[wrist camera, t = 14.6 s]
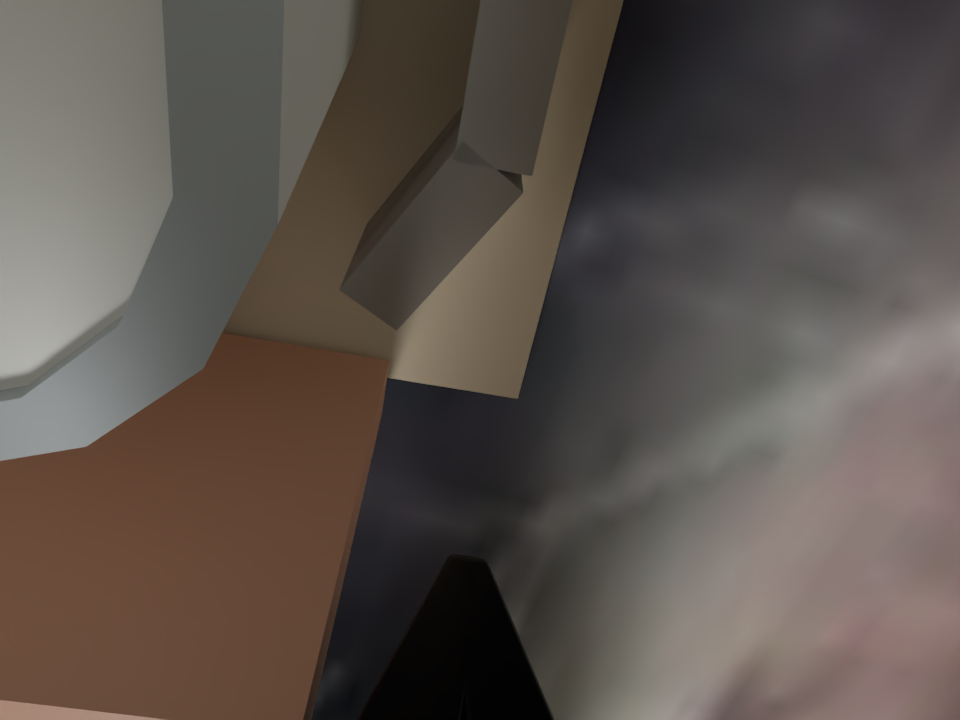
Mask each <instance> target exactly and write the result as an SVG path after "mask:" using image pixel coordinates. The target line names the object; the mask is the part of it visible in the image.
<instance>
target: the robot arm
mask: <svg viewBox="0 0 960 720" xmlns="http://www.w3.org/2000/svg"><path fill="white" fill-rule="evenodd" d="M357 720H554V718H553V715H552V713H551V711H550V708H549V706H548V704H547V701H546V699H545V697H544V694H543V692H542V690H541V687H540V685H539V682H538V680H537V678H536V675H535V673H534V671H533V668H532V666H531V664H530V661H529V659H528V656H527V654H526V652H525V649H524V647H523V645H522V642H521V640H520V638H519V635H518V633H517V630H516V628H515V626H514V623H513V621H512V619H511V616H510V614H509V612H508V609H507V607H506V605H505V602H504V600H503V597H502V595H501V593H500V590H499V588H498V586H497V583H496V581H495V579H494V576H493V574H492V571H491V569H490V567H489V565H488V563H487V562H486V561H485V560H484V559H481V558H474V557H468V556H462V555H456V554H452V555H450V556H449V557H448V558H447V560H446V562H445V564H444V565H443V567H442V569H441V571H440V572H439V574H438V576H437V578H436V580H435V581H434V583H433V585H432V587H431V589H430V590H429V592H428V594H427V596H426V597H425V599H424V601H423V603H422V605H421V606H420V608H419V610H418V612H417V614H416V615H415V617H414V619H413V621H412V622H411V624H410V626H409V628H408V630H407V631H406V633H405V635H404V637H403V638H402V640H401V642H400V644H399V646H398V647H397V649H396V651H395V653H394V655H393V656H392V658H391V660H390V662H389V663H388V665H387V667H386V669H385V671H384V672H383V674H382V676H381V678H380V679H379V681H378V683H377V685H376V687H375V688H374V690H373V692H372V694H371V696H370V697H369V699H368V701H367V703H366V704H365V706H364V708H363V710H362V712H361V713H360V715H359V717H358V719H357Z"/></svg>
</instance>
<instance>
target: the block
mask: <svg viewBox="0 0 960 720" xmlns="http://www.w3.org/2000/svg"><path fill="white" fill-rule="evenodd" d="M388 366H389V360H384V359H378V358H371V357H365V356H359V355H353V354H347V353H341V352H335V351H329V350H323V349H317V348H311V347H305V346H299V345H293V344H287V343H280V342H274V341H268V340H262V339H256V338H250V337H244V336H238V335H232V334H226V333H221V335H220V337H219V339H218V341H217V343H216V345H215V347H214V349H213V351H212V353H211V355H210V357H209V358H208V360H207V362H206V364H205V366H204V368H203V369H202V370H200V371H199V372H197V373H196V374H195V375H193V376H192V377H190V378H189V379H187V380H186V381H184V382H183V383H181V384H180V385H178V386H177V387H175V388H174V389H172V390H171V391H169V392H168V393H166V394H165V395H163V396H162V397H160V398H159V399H157V400H156V401H154V402H153V403H151V404H150V405H148V406H147V407H145V408H144V409H142V410H141V411H139V412H138V413H136V414H135V415H133V416H132V417H130V418H129V419H127V420H126V421H124V422H123V423H121V424H120V425H118V426H117V427H115V428H114V429H112V430H111V431H109V432H108V433H106V434H105V435H103V436H102V437H100V438H99V439H97V440H96V441H94V442H93V443H91V444H90V445H88V446H87V447H81V448H75V449H69V450H63V451H57V452H51V453H45V454H39V455H33V456H27V457H21V458H15V459H9V460H3V461H0V720H312V716H313V711H314V707H315V703H316V698H317V694H318V690H319V685H320V681H321V677H322V672H323V668H324V663H325V659H326V655H327V650H328V646H329V642H330V637H331V633H332V629H333V624H334V620H335V615H336V611H337V607H338V602H339V598H340V594H341V589H342V585H343V581H344V576H345V572H346V567H347V563H348V559H349V554H350V550H351V546H352V541H353V537H354V533H355V528H356V524H357V519H358V515H359V511H360V506H361V502H362V498H363V493H364V489H365V485H366V480H367V476H368V471H369V467H370V463H371V458H372V454H373V450H374V445H375V441H376V437H377V432H378V428H379V423H380V419H381V415H382V410H383V402H384V395H385V388H386V381H387V373H388Z"/></svg>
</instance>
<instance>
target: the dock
mask: <svg viewBox="0 0 960 720" xmlns="http://www.w3.org/2000/svg"><path fill="white" fill-rule="evenodd" d="M623 1H624V0H363V8H362V20H361V32H360V37H359V40H358V42H357V44H356V46H355V49H354V51H353V53H352V56H351V58H350V60H349V62H348V65H347V67H346V69H345V72H344V74H343V76H342V79H341V81H340V83H339V85H338V88H337V90H336V92H335V95H334V97H333V99H332V101H331V104H330V106H329V108H328V111H327V113H326V115H325V118H324V120H323V122H322V124H321V127H320V129H319V131H318V134H317V136H316V138H315V141H314V143H313V145H312V147H311V150H310V152H309V154H308V157H307V159H306V161H305V163H304V166H303V168H302V170H301V173H300V175H299V177H298V180H297V182H296V184H295V186H294V189H293V191H292V193H291V196H290V198H289V200H288V202H287V205H286V207H285V209H284V212H283V214H282V216H281V219H280V221H279V223H278V225H277V227H276V229H275V231H274V233H273V235H272V237H271V239H270V241H269V243H268V245H267V247H266V249H265V250H264V252H263V254H262V256H261V258H260V260H259V262H258V264H257V266H256V268H255V270H254V272H253V274H252V276H251V277H250V279H249V281H248V283H247V285H246V287H245V289H244V291H243V293H242V295H241V297H240V299H239V301H238V303H237V304H236V306H235V308H234V310H233V312H232V314H231V316H230V318H229V320H228V322H227V324H226V326H225V328H224V330H223V331H222V333H226V334H232V335H238V336H244V337H250V338H256V339H262V340H268V341H274V342H280V343H287V344H293V345H299V346H305V347H311V348H317V349H323V350H329V351H335V352H341V353H347V354H353V355H359V356H365V357H371V358H378V359H384V360H389V366H388V373H387V378H393V379H399V380H405V381H411V382H417V383H424V384H430V385H436V386H442V387H448V388H454V389H460V390H467V391H473V392H479V393H485V394H491V395H497V396H503V397H510V398H516V399H518V396H519V392H520V388H521V385H522V381H523V377H524V373H525V370H526V366H527V362H528V358H529V355H530V351H531V347H532V343H533V340H534V336H535V332H536V328H537V324H538V321H539V317H540V313H541V309H542V306H543V302H544V298H545V294H546V291H547V287H548V283H549V279H550V276H551V272H552V268H553V264H554V260H555V257H556V253H557V249H558V245H559V242H560V238H561V234H562V230H563V227H564V223H565V219H566V215H567V212H568V208H569V204H570V200H571V197H572V193H573V189H574V185H575V181H576V178H577V174H578V170H579V166H580V163H581V159H582V155H583V151H584V148H585V144H586V140H587V136H588V133H589V129H590V125H591V121H592V117H593V114H594V110H595V106H596V102H597V99H598V95H599V91H600V87H601V84H602V80H603V76H604V72H605V69H606V65H607V61H608V57H609V53H610V50H611V46H612V42H613V38H614V35H615V31H616V27H617V23H618V20H619V16H620V12H621V8H622V5H623Z"/></svg>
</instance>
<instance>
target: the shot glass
mask: <svg viewBox="0 0 960 720" xmlns="http://www.w3.org/2000/svg"><path fill="white" fill-rule="evenodd" d="M362 8H363V0H0V461H3V460H9V459H15V458H21V457H27V456H33V455H39V454H45V453H51V452H57V451H63V450H69V449H75V448H81V447H87V446H88V445H90V444H91V443H93V442H94V441H96V440H97V439H99V438H100V437H102V436H103V435H105V434H106V433H108V432H109V431H111V430H112V429H114V428H115V427H117V426H118V425H120V424H121V423H123V422H124V421H126V420H127V419H129V418H130V417H132V416H133V415H135V414H136V413H138V412H139V411H141V410H142V409H144V408H145V407H147V406H148V405H150V404H151V403H153V402H154V401H156V400H157V399H159V398H160V397H162V396H163V395H165V394H166V393H168V392H169V391H171V390H172V389H174V388H175V387H177V386H178V385H180V384H181V383H183V382H184V381H186V380H187V379H189V378H190V377H192V376H193V375H195V374H196V373H197V372H199V371H200V370H202V369H203V368H204V366H205V364H206V362H207V360H208V358H209V357H210V355H211V353H212V351H213V349H214V347H215V345H216V343H217V341H218V339H219V337H220V335H221V333H222V331H223V330H224V328H225V326H226V324H227V322H228V320H229V318H230V316H231V314H232V312H233V310H234V308H235V306H236V304H237V303H238V301H239V299H240V297H241V295H242V293H243V291H244V289H245V287H246V285H247V283H248V281H249V279H250V277H251V276H252V274H253V272H254V270H255V268H256V266H257V264H258V262H259V260H260V258H261V256H262V254H263V252H264V250H265V249H266V247H267V245H268V243H269V241H270V239H271V237H272V235H273V233H274V231H275V229H276V227H277V225H278V223H279V221H280V219H281V216H282V214H283V212H284V209H285V207H286V205H287V202H288V200H289V198H290V196H291V193H292V191H293V189H294V186H295V184H296V182H297V180H298V177H299V175H300V173H301V170H302V168H303V166H304V163H305V161H306V159H307V157H308V154H309V152H310V150H311V147H312V145H313V143H314V141H315V138H316V136H317V134H318V131H319V129H320V127H321V124H322V122H323V120H324V118H325V115H326V113H327V111H328V108H329V106H330V104H331V101H332V99H333V97H334V95H335V92H336V90H337V88H338V85H339V83H340V81H341V79H342V76H343V74H344V72H345V69H346V67H347V65H348V62H349V60H350V58H351V56H352V53H353V51H354V49H355V46H356V44H357V42H358V40H359V37H360V32H361V20H362Z"/></svg>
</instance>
